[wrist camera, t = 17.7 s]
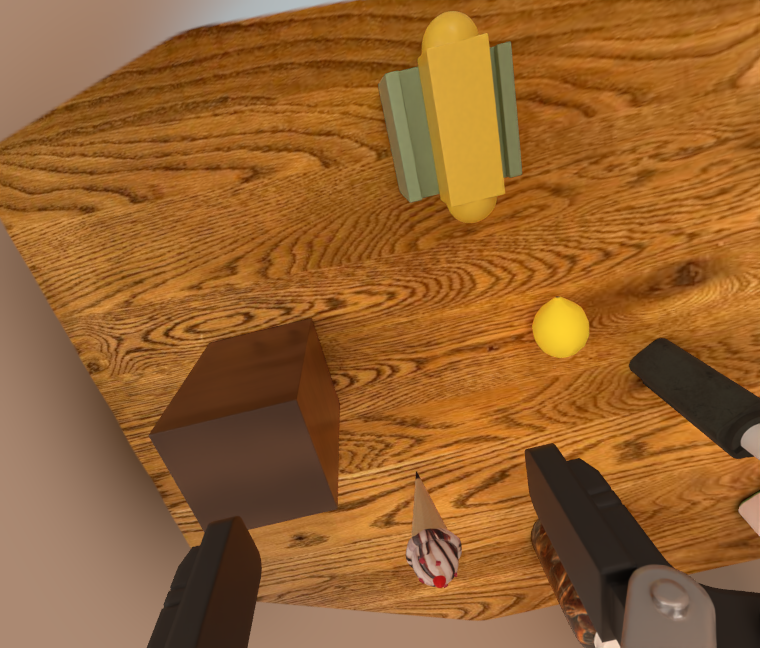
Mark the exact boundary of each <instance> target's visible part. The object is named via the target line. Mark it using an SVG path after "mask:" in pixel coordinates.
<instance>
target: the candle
mask: <svg viewBox="0 0 760 648" xmlns="http://www.w3.org/2000/svg"><path fill="white" fill-rule="evenodd" d="M629 367H630V370H631V371H632V372H634V373H635V374H636V375H637V376H638V377H640V378H641V379H642V380H643V384H645V385H646V386H647V387H648V388H649V389H651V390H652V391H653V392H654V393H656V394H657V395H658V396H659V397H660V398H662V399H663V400H664V401H665V402H666V403H668V404H669V405H670V406H671V407H672V408H674V409H675V410H676V411H677V412H678V413H680V414H681V415H682V416H683V417H685V418H686V419H687V420H688V421H689V422H691V423H692V424H693V425H694V426H695V427H697V428H698V429H699V430H700V431H701V432H703V433H704V434H705V435H706V436H707V437H709V438H710V439H711V440H712V441H713V442H715V443H716V444H717V445H718V446H720V447H721V448H722V449H723V450H724V451H726V452H727V453H728V454H729V455H730V456H732V457H733V458H736V459H741V458H745V457H754V456H755V457H756V458H757V459H759V460H760V398H759V397H757V396H756V395H754V394H753V393H751V392H749V391H748V390H746V389H745V388H743V387H742V386H740V385H738V384H737V383H735V382H734V381H732V380H730V379H729V378H727V377H726V376H724V375H723V374H721V373H719V372H718V371H716V370H715V369H713V368H711V367H710V366H708V365H707V364H705V363H704V362H702V361H700V360H699V359H697V358H696V357H694V356H692V355H691V354H689V353H688V352H686V351H684V350H683V349H681V348H680V347H678V346H677V345H675V344H673V343H672V342H670V341H669V340H667V339H665V338H660V339H657V340H655V341H654V342H652V343H651V344H650V345H649V346H647V347H646V348H645V349H644V350H642V351H641V352H640V353H639V354H637V355H636V356H635V357H634V358H633V359H632V360H631V361H630V364H629Z"/></svg>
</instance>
